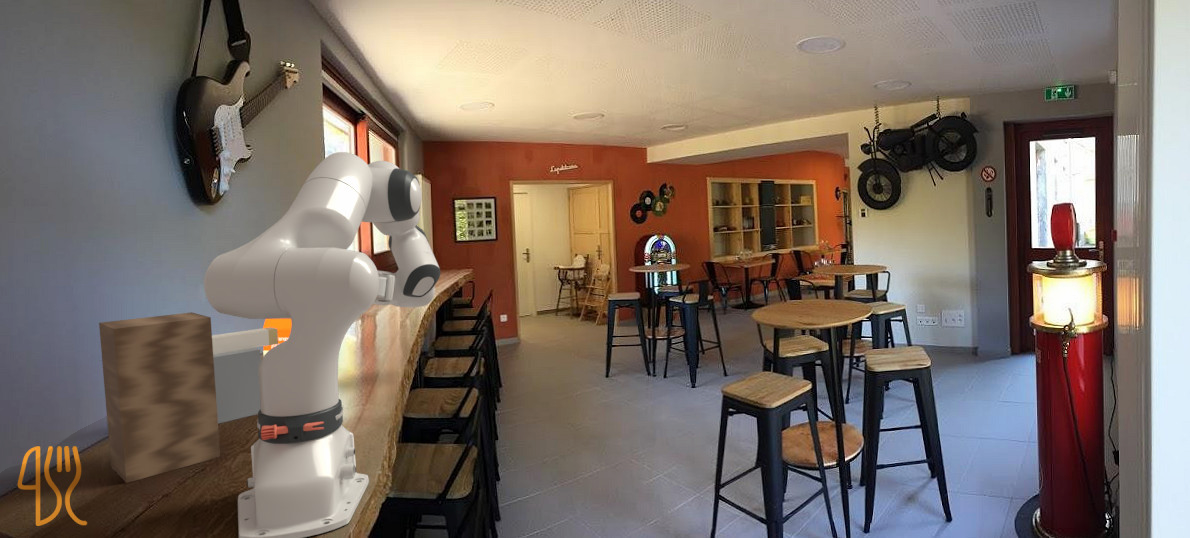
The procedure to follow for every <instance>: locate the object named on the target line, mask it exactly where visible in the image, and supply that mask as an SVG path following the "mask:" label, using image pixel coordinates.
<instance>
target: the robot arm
mask: <svg viewBox="0 0 1190 538" xmlns="http://www.w3.org/2000/svg"><path fill="white" fill-rule="evenodd" d="M420 185H421V184H420V181H419V179H418V177H417V176H416V175H415V174H414V173H412V172H411V170H408V169H407V170H406V169H402V168H400V167H398V166H397V165H396V164H395V163H393V162H390V161H386V160H376V161H373V162H370V163H367V162H366V161H365V160H364V159H363V158H361V157H359V156H358V155H356V154H354V153H352V152H347V151H338V152H334V153H331V154H329V155H327V156H326V157H325V158H323V160H322V161H321V162H320V163H318V164H317V166H316V167H315V168H314V169H313V170H312V171H311V173H310V174H309V176H308V177H307V179H306V180H305V181H304V183H303V185H302V187H301V188H300V190H299V192H298V194H297V195H296V197H295V199H294V200H293V202H292V204H291V205H290V207H289V209H288V210H286V213H285V214H284V215H283V216H282V217H280V219H279V220H277V222H275V223H274V224H273V225H271V226H270V227H269V228H268V229H267V230H265V231H264V232H261V234H260V235H258V236H257V237H255V238H254V239H252V240H251V241H248V242H247V243H245V244H243V245H241V246H239V247H238V248H235V249H232V250H229V251H227V252H224V253H222V254H219V255H217V256H216V257H214V259H213V260H212V261H211V263H210V264H209V266H207V267H208V268H207V270H206V271H205V275H204V279H203V280H204V281H203V286H204V287H203V288H204V293H205V297H206V299H207V300H208V303H209V304H210V306H212V308H213V309H214V310H215V311H216V312H218V313H220V314H224V315H228V316H233V317H236V318H243V319H248V320H265V319H291V322H292V326H291V332H290V335H289V338H288V340H286V341H284V342H282V343H280V344H278V345H277V346H275V347H273V348H272V349H270V350H269V351H268V352H267V353H266V354H265V355H264V354H263V357H261V362H260V364H259V367H258V372H259V388H260V405H261V409H260V410H259V412H258V414H257V419H256V421H257V423H256V426H257V437H258V439H257V440H256V441H255V442H254V443H253V444H252V445H251V446H250V452H251V453H250V455H251V465H252V467H251V469H252V477H248V478H247V480H246V486H247V487H248V488H251V489H248V490H245V491H244V492H241V493H240V494H238V496H237V524H238V526H237V527H238V538H307V537H311V536H315V535H320V534H324V533H327V532H329V531H330V532H331V531H334V530H336V529H339V528H342V527H343V526H346V525H347V524H349V522H351V519H352V517H353V515H354V514H355V511H356V509H357V508H358V506H359V504H360V502H361V499H362V497H363V496H364V493H365V492H366V489H367V487H368V485H369V483H370V479H369V475H367V474H364V473H359V472H357V466H356V465H357V464H356V448H355V440H354V439H355V438H354V437H355V436H354V433H353V432H351V431H350V430H348V429H347V428H346V427H344V425H343V422H344V417H343V414H344V409H343V408H344V407H343V405H342V403H343V402H342V399H340V397H339V396H340V395H339V357H340V351H341V347H342V344H343V341H344V339H345V338H346V334H348V331H349V329H350V328H351V327H352V325H353V324H355V321H357V319H359V318H360V317H361V316H362V315H363V314H365V313H366V312H367V311H368V310H369V309H370V308H371V307H372V305H377V306H390V305H392V306H394V307H398V308H421V307H425V306H427V305H429V304H430V303H431V302H432V301H433V299H434V297H435V295H436V294H435V293H436V289H435V287H436V286H435V285H437V283H438V281H439V279H440V278H441V268H440V266H439V263H438V261H437V259H436V257H435V254H434V252H433V250H432V247H431V245H430V243H429V241H428V240H429V239H428V238H427V235H426V232H425V231H424V230H423V229H422V228H421V227H419V226H418V224H419V221H420V208H421V204H422V198H423V196H422V194H423V193H422V188H421V186H420ZM363 222H364V223H372V224H373V225H374V226H375V228H376V229H377V230H378V231H379V232H380V234H383V235H385V236H388V243H387V245H388V248H389V250H390V252H391V254H392V256H393V258H394V260H395V263H396V266H397V268H398V269H397V270H396V271H395V272H391V271H387V270H386V271H384V270H379V269H377V267H376V265H375V263H374V261H373V260H372V259H371V258H370V257H369V255H367V253H364V252H360V251H356V250H351V249H349V248H350V247H351V245H352V244H353V243H354V240H355V238H356V235H357V232H358V231H359V228H360V226H361V224H362V223H363Z"/></svg>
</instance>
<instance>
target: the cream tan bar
mask: <svg viewBox="0 0 1190 538" xmlns="http://www.w3.org/2000/svg"><path fill="white" fill-rule="evenodd" d="M275 344H278V330H277V329H276V328H272V327H268V328H263V327H260V328H255V329H248V330H241V331H234V332H226V333H221V334H212V345H213V354H219V353H225V352H232V351H238V350H244V349H250V348H260V347H263V346H269V345H275Z"/></svg>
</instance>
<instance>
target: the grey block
mask: <svg viewBox="0 0 1190 538" xmlns="http://www.w3.org/2000/svg"><path fill="white" fill-rule="evenodd" d="M213 359H214V374H215V388H216V403H217V417H218V425H219V424H222V423H226V422H231V421H236V420H239V419H242V418H243V419H244V418H248V417H252V416H257V415H258V412H259V410H260V409H261V405H260V388H259V372H258V367H259V364H260V362H261V360H262V354H261V349H260V348H258V347H256V348H250V349H244V350H238V351H232V352H225V353H219V354H213Z"/></svg>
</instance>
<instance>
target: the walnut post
mask: <svg viewBox="0 0 1190 538" xmlns="http://www.w3.org/2000/svg"><path fill="white" fill-rule="evenodd" d="M211 318H212V317H210V316H207V315H203V314H199V313H197V312H196V313H195V312H185V313H184V312H183V313H176V314H175V313H174V314H166V315H158V316H157V315H156V316H146V317H140V318H138V317H137V318H130V319H129V318H128V319H120V320H112V321H111V320H110V321H103V322H98V326H99V338H100V350H101V351H100V352H101V361H102V375H103V385H104V396H105V397H104V399H105V409H106V420H107V421H106V422H107V435H108V444H109V445H108V446H109V456H110V467H111V466H112V468H113V469H114V470H115V471H116V472H117V473H116V472H115V471H114V470H113V469H112V468H111V469H112V470H113V471H114V472H115V473H116V474H117V475H118V476H119V477H120V478H121V479H122V480H123V481H124V483H126V484H128V483H131V482H135V481H138V480H143V479H146V478H148V477H153V476H156V475H159V474H164V473H167V472H170V471H174V470H178V469H181V468H186V467H189V466H192V465H195V464H198V463H199V464H200V463H203V462H207V461H211V460H214V459H218V458H220V457H221V449H220V447H221V446H220V435H219V433H220V431H219V424H218V417H217V403H216V388H215V374H214V359H213V345H212V335H213V333H212V332H213V331H212V320H211Z"/></svg>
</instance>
